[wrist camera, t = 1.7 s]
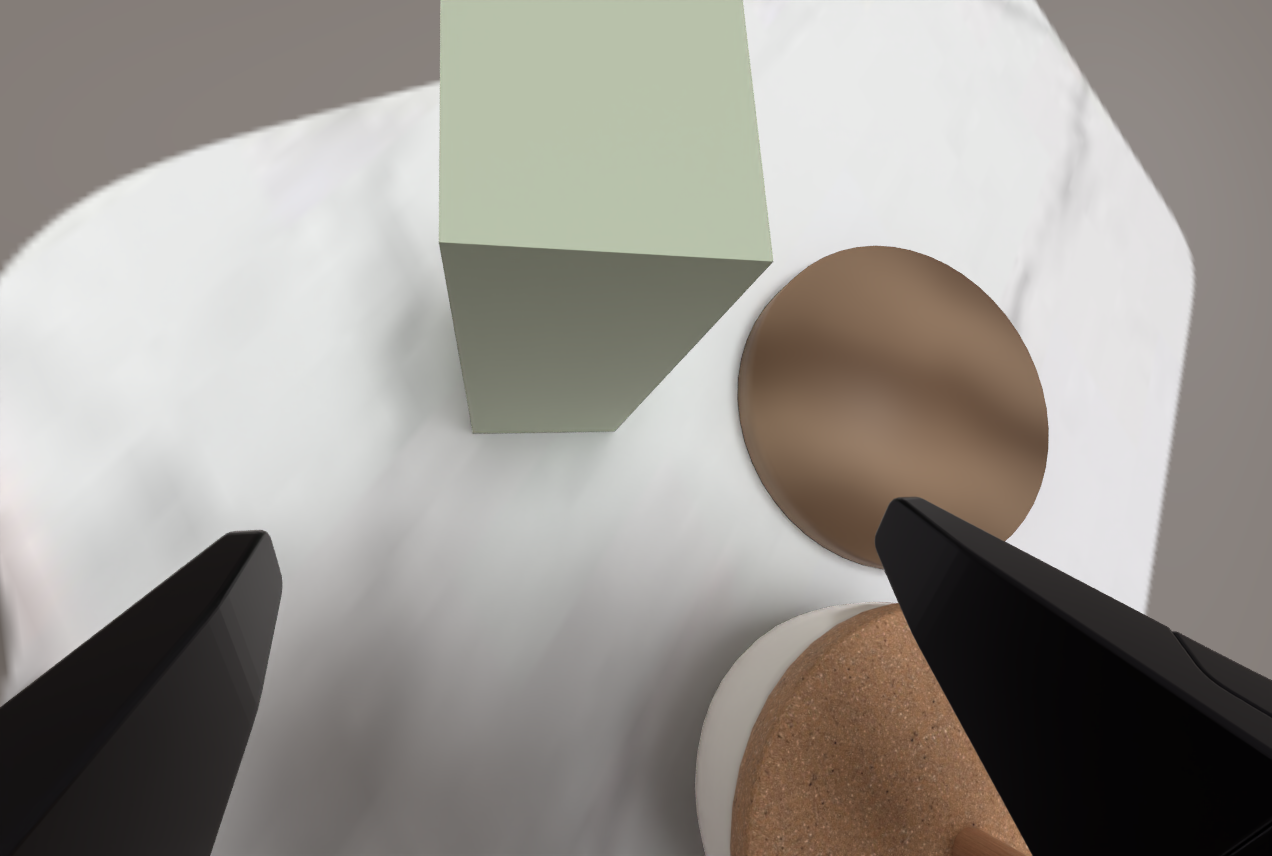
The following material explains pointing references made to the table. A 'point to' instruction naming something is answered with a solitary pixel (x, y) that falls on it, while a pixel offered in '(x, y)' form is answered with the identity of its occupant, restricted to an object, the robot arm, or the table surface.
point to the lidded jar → (843, 749)
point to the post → (592, 199)
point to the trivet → (890, 399)
